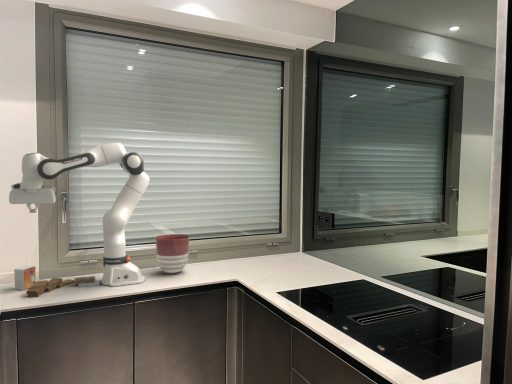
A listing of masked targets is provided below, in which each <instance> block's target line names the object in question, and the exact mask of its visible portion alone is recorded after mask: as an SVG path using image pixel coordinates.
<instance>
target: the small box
mask: <svg viewBox="0 0 512 384" xmlns="http://www.w3.org/2000/svg"><path fill="white" fill-rule="evenodd" d="M13 273H14V276H13V277H14V290H17V291H24V290H28V289H29V288H30V287H31V286H32V285H33V284H35V283H36V282H37V279H36V266H34V265H25V266H22V267H19V268H14V269H13Z"/></svg>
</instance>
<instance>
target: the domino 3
mask: <svg viewBox="0 0 512 384" xmlns="http://www.w3.org/2000/svg"><path fill="white" fill-rule="evenodd" d="M70 285H74V279H69V278H67V279H65V280H62V282H61V283H60V284H59V285H57V286H56V287H55V288H56V289H57V288H58V289H60V288H63V287H66V286H70Z"/></svg>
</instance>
